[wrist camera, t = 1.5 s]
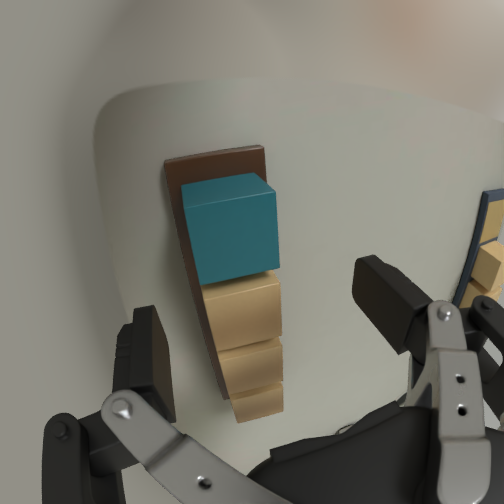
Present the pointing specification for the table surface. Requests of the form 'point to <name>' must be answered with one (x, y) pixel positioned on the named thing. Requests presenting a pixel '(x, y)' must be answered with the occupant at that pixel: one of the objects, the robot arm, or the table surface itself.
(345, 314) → the table surface
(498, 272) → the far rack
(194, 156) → the near rack
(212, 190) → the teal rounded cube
